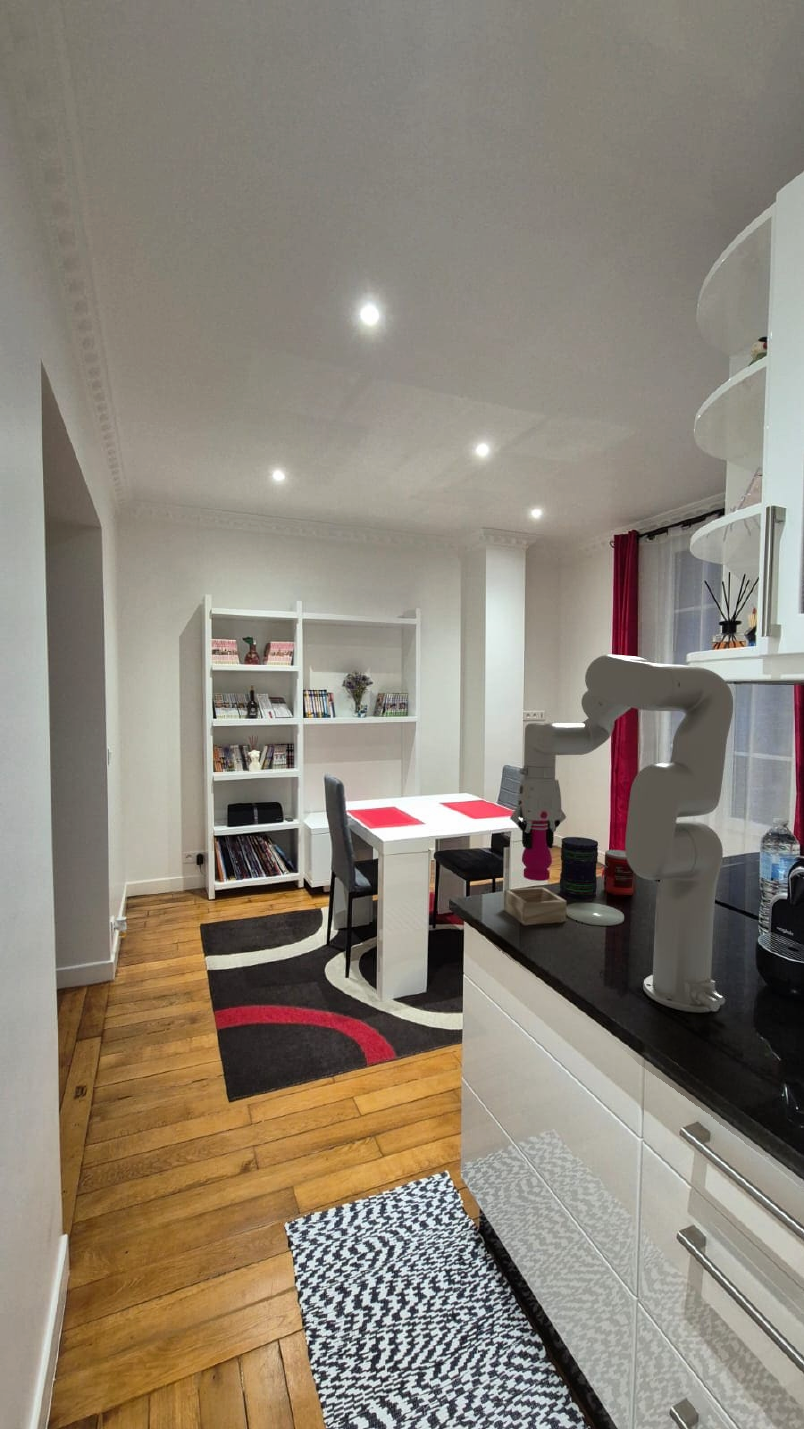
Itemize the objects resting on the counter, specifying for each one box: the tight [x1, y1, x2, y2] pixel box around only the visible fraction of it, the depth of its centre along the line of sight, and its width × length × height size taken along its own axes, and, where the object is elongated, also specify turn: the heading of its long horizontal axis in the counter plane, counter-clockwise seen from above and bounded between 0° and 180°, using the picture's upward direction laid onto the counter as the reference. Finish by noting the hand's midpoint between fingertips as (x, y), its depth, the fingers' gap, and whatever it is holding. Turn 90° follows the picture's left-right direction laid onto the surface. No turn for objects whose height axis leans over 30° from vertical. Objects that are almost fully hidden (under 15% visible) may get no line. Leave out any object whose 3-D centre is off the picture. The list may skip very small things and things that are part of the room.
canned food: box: [603, 849, 635, 896], centre depth 170 cm, size 8×8×11 cm
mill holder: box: [503, 886, 567, 926], centre depth 149 cm, size 11×11×5 cm
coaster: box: [566, 902, 625, 927], centre depth 151 cm, size 14×14×1 cm
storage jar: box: [559, 836, 599, 901], centre depth 166 cm, size 10×10×15 cm
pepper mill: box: [521, 811, 553, 882], centre depth 148 cm, size 7×7×20 cm
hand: (537, 846), depth 148 cm, fingers closed on pepper mill, 5 cm apart
